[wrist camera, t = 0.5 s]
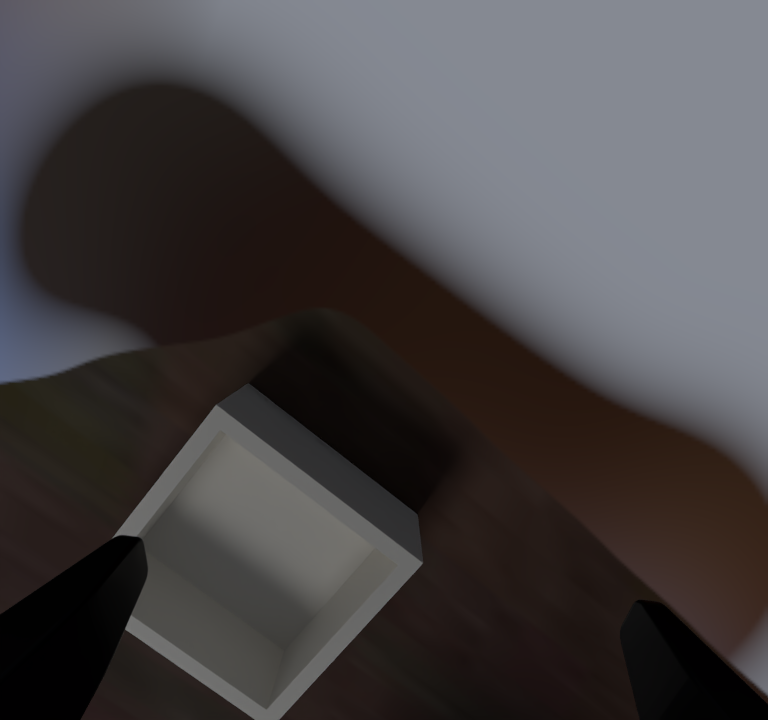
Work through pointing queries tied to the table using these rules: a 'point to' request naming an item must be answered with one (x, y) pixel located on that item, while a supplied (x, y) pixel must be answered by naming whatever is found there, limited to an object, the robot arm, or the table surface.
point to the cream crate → (264, 555)
